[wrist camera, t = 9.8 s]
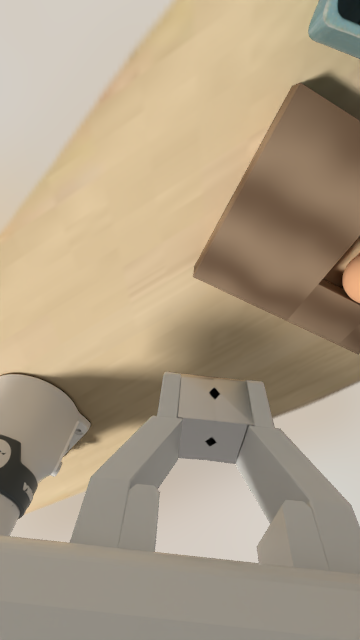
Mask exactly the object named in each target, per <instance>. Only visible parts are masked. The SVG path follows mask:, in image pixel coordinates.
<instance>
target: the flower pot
mask: <svg viewBox="0 0 360 640" xmlns="http://www.w3.org/2000/svg"><path fill="white" fill-rule="evenodd" d="M359 23H360V0H319V2H318V5H317V7H316V10H315V12H314V15H313V17H312V20H311V22H310V25H309V30H308V32H309V37H310V38H311V39H312V40H314V41H316V42H318V43H321V44H324V45H326V46H329V47H331V48H334V49H336V50H339V51H341V52H344V53H347V54H349V55H351V56H354V57H356V58H359V59H360V25H359Z"/></svg>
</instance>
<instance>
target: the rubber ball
mask: <svg viewBox="0 0 360 640" xmlns="http://www.w3.org/2000/svg"><path fill="white" fill-rule="evenodd" d="M342 282H343V287H344V290H345V292H346V293H347V295H348V296H349V297H350V298H351V299H353V300H354V301H356V302H358V303H360V255H358V256H357V257H355V258H354V259H353V260H352V261H351V262H350V263H349V264H348V265H347V267H346V268H345V270H344V273H343V279H342Z"/></svg>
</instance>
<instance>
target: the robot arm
mask: <svg viewBox="0 0 360 640" xmlns="http://www.w3.org/2000/svg"><path fill="white" fill-rule="evenodd" d="M90 426H91V424H90V422H89V421H88V420H87V419H86V418H85V417H84V416H82V415H81V414H80V413H79V411H78V410H77V408H76V406H75V404H74V403H73V401H72V400H71V399H70V398H69V397H68V396H67V395H66V394H65V393H64V392H63V391H61V390H60V389H58V388H57V387H55V386H54V385H52V384H50V383H48V382H46V381H43V380H41V379H38V378H35V377H31V376H27V375H19V374H8V375H3V376H0V640H360V527H359V524H358V521H357V519H356V516H355V514H354V511H353V509H352V506H351V504H350V503H349V502H348V501H347V500H346V499H345V498H344V497H343V496H342V495H341V494H340V493H339V492H338V490H337V489H336V488H335V487H334V486H333V485H332V484H331V483H330V482H329V481H328V480H327V479H326V478H325V477H324V476H323V475H322V473H321V472H320V471H319V470H318V469H317V468H316V467H315V466H314V465H313V464H312V463H311V461H310V460H309V459H308V458H307V457H306V456H305V455H304V454H303V453H302V452H301V451H300V450H299V449H298V448H297V446H296V445H295V444H294V443H293V442H292V441H291V440H290V439H289V438H288V437H287V436H286V435H285V434H284V432H283V431H282V430H281V429H278V428H275V427H274V423H273V419H272V415H271V411H270V406H269V402H268V398H267V394H266V390H265V386H264V383H263V382H262V381H251V380H240V379H229V378H218V377H207V376H199V375H191V374H183V373H181V374H180V373H173V372H164V375H163V381H162V388H161V394H160V401H159V407H158V413H157V416H153V415H152V416H151V417H150V418H149V419H148V420H147V421H146V422H145V423H144V424H143V425H142V426H141V427H140V428H139V429H138V430H137V431H136V432H135V433H134V434H133V435H132V436H131V437H130V438H129V439H128V440H127V441H126V442H125V443H124V444H123V445H122V446H121V447H120V448H119V449H118V450H117V451H116V452H115V453H114V454H113V455H112V456H111V457H110V458H109V459H108V460H107V461H106V462H105V463H104V464H103V465H102V466H101V467H100V468H99V469H98V470H97V471H96V472H95V473H94V474H93V475H92V476H91V478H90V481H89V484H88V487H87V491H86V494H85V497H84V500H83V503H82V506H81V509H80V512H79V515H78V519H77V522H76V525H75V528H74V531H73V534H72V538H71V540H70V543H67V542H57V541H48V540H39V539H28V538H21V537H11V536H10V534H11V532H12V530H13V528H14V526H15V524H16V522H17V520H18V519H19V518H21V517H22V516H23V515H24V513H25V511H26V509H27V508H28V507H29V505H30V503H31V501H32V499H33V495H34V493H35V491H36V489H37V486H38V483H40V482H41V481H42V480H43V479H44V478H46V477H48V476H49V475H51V476H56V475H57V473H58V472H59V470H60V468H61V465H62V462H61V460H62V458H63V456H64V455H65V454H66V453H67V452H68V451H69V450H70V449H71V448H72V447H73V446H74V445H75V444H76V443H77V442H78V441H79V440H80V439H81V438H82V436H83V435H84V434H85V433H86V432H87V431H88V430H89V428H90ZM178 458H186V459H199V460H210V461H217V462H225V463H233V464H236V467H237V469H238V471H239V472H240V474H241V476H242V477H243V479H244V481H245V482H246V484H247V486H248V487H249V489H250V491H251V492H252V494H253V496H254V497H255V499H256V501H257V502H258V504H259V505H260V507H261V509H262V511H263V512H264V514H265V515H266V517H267V519H268V521H269V522H270V526H269V527H268V529H267V531H266V532H265V534H264V536H263V537H262V539H261V541H260V542H259V544H258V546H257V552H258V561H259V563H251V562H242V561H233V560H223V559H215V558H205V557H195V556H187V555H178V554H168V553H159V552H155V544H156V533H157V520H158V508H159V495H160V492H159V491H158V488H159V486H160V485H161V484H162V482H163V480H164V479H165V478H166V476H167V475H168V473H169V472H170V470H171V469H172V468H173V466H174V465H175V463H176V462H177V460H178Z"/></svg>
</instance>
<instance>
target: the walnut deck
mask: <svg viewBox="0 0 360 640" xmlns="http://www.w3.org/2000/svg"><path fill="white" fill-rule="evenodd" d="M359 236H360V121H359V120H358V119H356V118H355V117H353V116H352V115H350V114H349V113H347V112H345V111H344V110H342V109H341V108H339V107H338V106H336V105H335V104H333V103H331V102H330V101H328V100H327V99H325V98H324V97H322V96H321V95H319V94H317V93H316V92H314V91H313V90H311V89H310V88H308V87H307V86H305V85H303V84H302V83H298V84H296V85H294V86H292V87H291V89H290V91H289V93H288V95H287V97H286V98H285V100H284V102H283V104H282V106H281V108H280V109H279V111H278V113H277V115H276V117H275V119H274V120H273V122H272V124H271V126H270V128H269V130H268V132H267V133H266V135H265V137H264V139H263V141H262V143H261V144H260V146H259V148H258V150H257V152H256V154H255V155H254V157H253V159H252V161H251V163H250V165H249V167H248V168H247V170H246V172H245V174H244V176H243V178H242V179H241V181H240V183H239V185H238V187H237V189H236V191H235V192H234V194H233V196H232V198H231V200H230V202H229V203H228V205H227V207H226V209H225V211H224V213H223V214H222V216H221V218H220V220H219V222H218V224H217V226H216V227H215V229H214V231H213V233H212V235H211V237H210V238H209V240H208V242H207V244H206V246H205V248H204V249H203V251H202V253H201V255H200V257H199V259H198V261H197V262H196V264H195V266H194V274H193V277H195V278H197V279H199V280H201V281H203V282H205V283H207V284H209V285H212V286H214V287H216V288H218V289H220V290H222V291H224V292H227V293H229V294H231V295H233V296H235V297H237V298H239V299H241V300H244V301H246V302H248V303H250V304H252V305H254V306H256V307H258V308H261V309H263V310H265V311H267V312H269V313H271V314H273V315H276V316H278V317H280V318H282V319H284V320H286V321H288V322H290V323H293V324H295V325H297V326H299V327H301V328H303V329H305V330H307V331H310V332H312V333H314V334H316V335H318V336H320V337H322V338H325V339H327V340H329V341H331V342H333V343H335V344H337V345H339V346H342V347H344V348H346V349H348V350H350V351H352V352H354V353H357V354H359V353H360V303H358V302H356V301H354V300H353V299H351V298H350V297H349V296H348V295H347V293H346V292H345V290H344V289H342V288H340V287H338V286H336V285H334V284H332V283H330V282H328V281H326V280H324V279H323V278H324V277H325V276H326V275H327V273H328V272H329V271H330V270H331V269H332V268H333V266H334V265H335V264H336V263H337V262H338V261H339V259H340V258H341V257H342V256H343V255H344V254H345V253H346V251H347V250H348V249H349V248H350V247H351V246H352V244H353V243H354V242H355V241H356V240H357V239H358V237H359Z"/></svg>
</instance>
